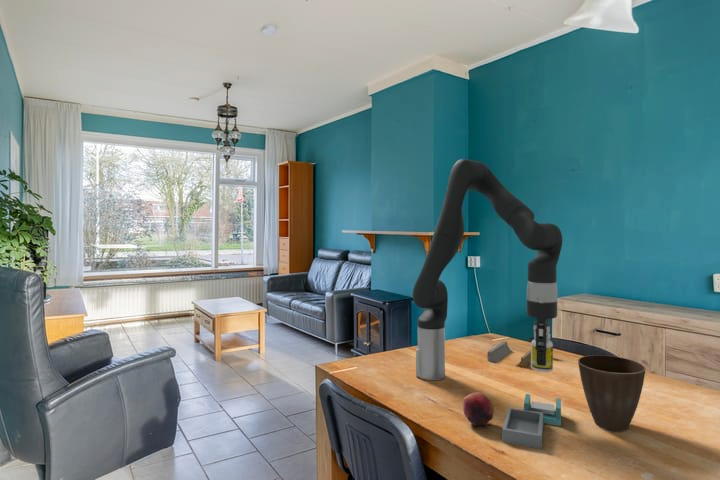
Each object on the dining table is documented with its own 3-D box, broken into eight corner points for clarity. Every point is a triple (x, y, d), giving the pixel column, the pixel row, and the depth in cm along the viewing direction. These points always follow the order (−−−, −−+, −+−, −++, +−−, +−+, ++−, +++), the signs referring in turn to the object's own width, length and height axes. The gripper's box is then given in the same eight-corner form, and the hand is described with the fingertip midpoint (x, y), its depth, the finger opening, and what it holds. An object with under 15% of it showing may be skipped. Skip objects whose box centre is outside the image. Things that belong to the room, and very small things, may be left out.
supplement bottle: (555, 373, 112) (555, 335, 112) (533, 371, 113) (533, 334, 113) (550, 366, 117) (550, 330, 117) (529, 365, 118) (529, 329, 118)
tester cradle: (523, 419, 114) (523, 403, 114) (525, 409, 121) (525, 393, 121) (561, 426, 111) (560, 408, 111) (560, 415, 117) (560, 398, 117)
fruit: (492, 419, 115) (492, 389, 115) (495, 432, 108) (495, 401, 107) (463, 416, 117) (462, 387, 117) (463, 429, 109) (463, 398, 109)
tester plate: (530, 411, 115) (530, 407, 115) (531, 404, 119) (531, 401, 119) (554, 414, 113) (553, 410, 112) (554, 408, 117) (554, 404, 116)
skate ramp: (497, 346, 187) (497, 329, 187) (587, 360, 166) (587, 341, 165) (470, 363, 164) (470, 344, 163) (571, 383, 142) (571, 360, 142)
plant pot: (618, 444, 101) (618, 376, 101) (565, 419, 115) (565, 359, 114) (659, 431, 107) (659, 367, 107) (603, 408, 121) (604, 352, 120)
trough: (502, 441, 103) (502, 429, 103) (508, 418, 115) (508, 407, 115) (541, 448, 99) (541, 436, 99) (543, 424, 112) (543, 412, 112)
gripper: (528, 293, 123) (528, 352, 123) (524, 302, 110) (524, 368, 110) (557, 295, 120) (557, 355, 120) (557, 304, 106) (557, 372, 107)
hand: (541, 361), depth 115 cm, fingers closed on supplement bottle, 5 cm apart
